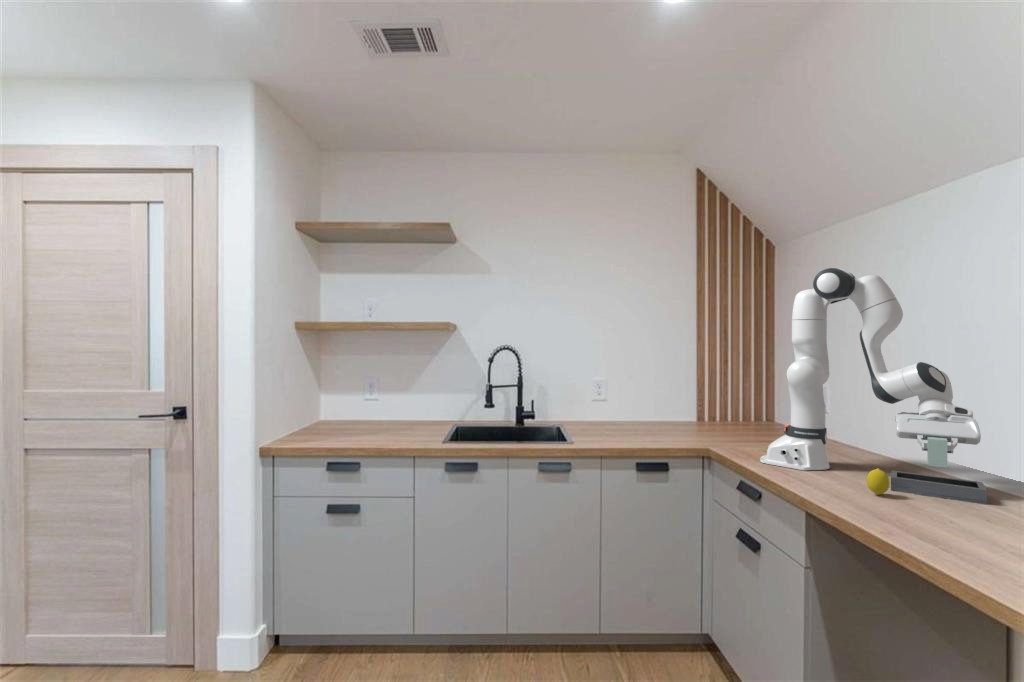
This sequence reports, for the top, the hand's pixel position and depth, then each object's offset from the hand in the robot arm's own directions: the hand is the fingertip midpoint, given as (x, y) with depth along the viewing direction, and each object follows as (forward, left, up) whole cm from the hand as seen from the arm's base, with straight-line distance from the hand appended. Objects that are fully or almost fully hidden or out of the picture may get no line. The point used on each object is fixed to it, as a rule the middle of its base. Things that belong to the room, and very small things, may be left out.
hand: (937, 450), depth 159 cm
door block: (0, +1, -4) cm, 4 cm away
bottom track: (0, +1, -13) cm, 13 cm away
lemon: (-14, -13, -13) cm, 23 cm away
